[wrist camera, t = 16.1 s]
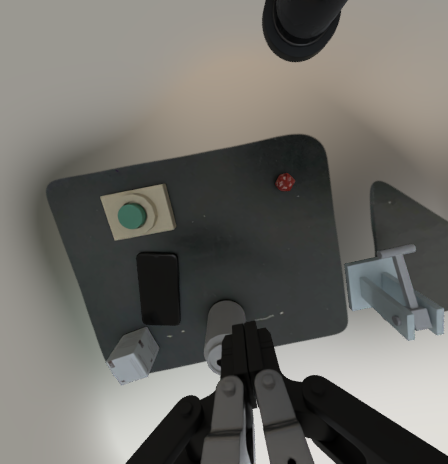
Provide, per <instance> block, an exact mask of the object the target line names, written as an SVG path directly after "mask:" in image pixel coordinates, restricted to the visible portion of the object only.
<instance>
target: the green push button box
mask: <svg viewBox="0 0 448 464" xmlns="http://www.w3.org/2000/svg"><path fill="white" fill-rule="evenodd" d="M100 198H101V201H102V204H103V207H104V210H105V213H106V216H107V219H108V222H109V225H110V228H111V231H112V234H113V237H114V239H115V241H116V240H121V239H126V238H132V237H137V236H142V235H148V234H153V233H158V232H164V231H169V230H174V229H175V228H176V227H177V226H176V222H175V218H174V214H173V211H172V207H171V203H170V199H169V195H168V191H167V187H166V184H160V185H155V186H150V187H145V188H140V189H135V190H130V191H125V192H120V193H115V194H110V195H105V196H101V197H100ZM130 203H136V204H139V205H140V206H142V207H143V209H144V210H145V212H146V220H145V222H144V223H143V224H142V225H141V226H139V227H138V228H136V229H127V228H125V227H123V226H122V225H121V224H120V222H119V220H118V211H119V209H120V208H121V207H122V206H124V205H127V204H130Z"/></svg>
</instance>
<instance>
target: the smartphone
mask: <svg viewBox="0 0 448 464" xmlns="http://www.w3.org/2000/svg"><path fill="white" fill-rule="evenodd" d="M136 260H137V271H138V280H139V291H140V301H141V312H142V321H143V323H144V324H146V325H170V326H176V325H178V324H179V323H180V301H179V272H178V258H177V255H176V254H173V253H139V254H138V255H137V257H136Z"/></svg>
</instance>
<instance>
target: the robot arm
mask: <svg viewBox="0 0 448 464" xmlns="http://www.w3.org/2000/svg"><path fill="white" fill-rule="evenodd" d="M346 2H347V0H274V3H273V8H272V20H273V25H274V28H275V30H276V32H277V34H278V36H279V37H280V38H281V39H282V40H283V41H284V42H285V43H286V44H288V45H290V46H293V47H307V46H310V45H312V44H314V43H315V42H317V41H318V40H319V39H320V38H321V37H322V36H323V35H324V34H325V32H326V31H327V29H328V28H329V26H330V24H331V23H332V21H333V20H334V19H335V17H336V16H337V15H338V13H339V12H340V10H341V9H342V8H343V6H344V5H345V3H346ZM221 350H222V351H221V377H220V378H221V379H220V381H219V383H218V384H217V386H216V390H215V391H214V392H213V393H212V394H211V395H209V396H207V397H205V398H203V399H201V400H199V398H198V397H196V396H193V395H189V396H186V397H184V398H182V399H181V400H180V401H179V402H178V403H177V404H176V405H175V406H174V407H173V409H172V410H171V411H170V412H169V413H168V415H167V416H166V417H165V418H164V419H163V420H162V421H161V423H160V424H159V425H158V426H157V427H156V428H155V430H154V431H153V432H152V433H151V434H150V435H149V437H148V438H147V439H146V440H145V441H144V442H143V444H142V445H141V446H140V447H139V448H138V450H137V451H136V452H135V453H134V454H133V456H132V457H131V458H130V459H129V460H128V461H127V462H126V464H256V459H255V433H254V432H255V431H254V423H253V410H252V409H254V408H257V404H258V407H259V409H260V413H261V418H262V423H263V430H264V435H265V440H266V445H267V450H268V454H269V459H270V464H314V461H313V458H312V456H311V453H310V450H309V447H308V444H307V442H306V439H305V437H307V438H311V439H312V441H313V442H314V443H315V444H316V445H317V446H318V447H319V448H320V449H321V450H322V451H323V452H324V453H325V454H326V455H327V456H328V457H329V458H331V459H332V460H333V461H334V462H335V463H336V464H448V456H447V455H445V454H444V453H442V452H441V451H439V450H438V449H436V448H434V447H433V446H431V445H430V444H428V443H426V442H425V441H423V440H422V439H420V438H419V437H417V436H416V435H414V434H412V433H411V432H409V431H408V430H406V429H404V428H402V427H401V426H400V425H398V424H397V423H395V422H393V421H392V420H390V419H389V418H387V417H386V416H384V415H382V414H381V413H379V412H378V411H376V410H375V409H373V408H371V407H370V406H368V405H367V404H365V403H364V402H361V401H360V400H358V399H357V398H356V397H354V396H352V395H351V394H349V393H348V392H346V391H345V390H343V389H341V388H340V387H338V386H337V385H335V384H334V383H332V382H330V381H329V380H327V379H326V378H324V377H322V376H318V375H312V376H309V377H307V378H305V379H304V380H303V382H297V381H292V380H290V379H288V378H286V377H285V376H284V375H283V374H282V373H281V371H280V368H279V365H278V361H277V357H276V353H275V349H274V345H273V342H272V338H271V334H270V332H269V331H268V330H267V329H266V328H261V329H257V326H256V322H255V321H251V322H245V323H244V324H243V323H240V324H235V325H232V334H230V335H225V337H224V339H223V341H222V348H221ZM256 400H257V403H256Z"/></svg>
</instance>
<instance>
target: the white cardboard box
mask: <svg viewBox="0 0 448 464" xmlns="http://www.w3.org/2000/svg"><path fill="white" fill-rule="evenodd" d="M158 350H159V346H158V344H157V343H156V341H155V340H154V338H153V336H152V335H151V333H150V331H149V329H148V327H144V328H142V329H139V330H136V331H134V332H131V333H128V334H126V335H123V336H122V338H121V340H120V341H119V343H118V344H117V346H116V347H115V349H114V350H113V352H112V353H111V355H110V356H109V358H108V359H107V361H106V364H107V365H108V367H109V368H110V370H111V372H112V374H113V375H114V376H115V377H116V379H117V380H118V382H119V383H120V384H121V385H124V384H127V383H130V382H133V381H136V380H139V379H142V378H145V377H147V376H148V375H149V373H150V370H151V368H152V365H153V363H154V360H155V358H156V355H157V353H158Z"/></svg>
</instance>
